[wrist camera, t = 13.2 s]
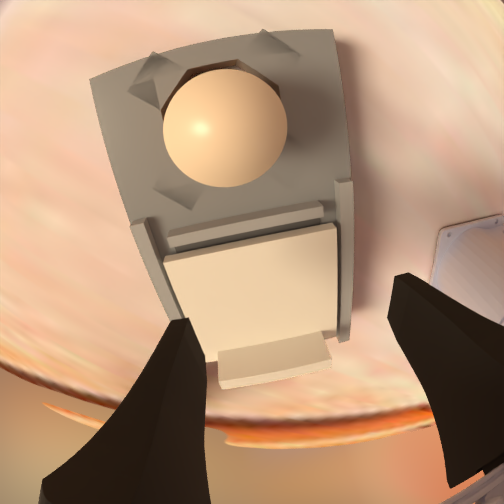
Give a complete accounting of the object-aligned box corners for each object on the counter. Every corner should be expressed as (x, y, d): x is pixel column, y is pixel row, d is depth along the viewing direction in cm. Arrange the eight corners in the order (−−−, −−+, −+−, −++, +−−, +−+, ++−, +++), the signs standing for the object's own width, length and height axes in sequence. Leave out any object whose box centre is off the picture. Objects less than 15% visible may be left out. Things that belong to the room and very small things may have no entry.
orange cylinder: (254, 77, 14) (279, 62, 8) (264, 145, 16) (293, 177, 10) (182, 89, 14) (153, 83, 8) (194, 156, 16) (177, 197, 10)
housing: (316, 34, 12) (338, 22, 9) (338, 311, 23) (352, 341, 20) (106, 77, 12) (80, 75, 9) (194, 340, 23) (192, 373, 20)
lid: (332, 222, 15) (355, 252, 12) (333, 329, 19) (347, 363, 17) (165, 256, 15) (154, 292, 12) (206, 355, 20) (205, 391, 17)
